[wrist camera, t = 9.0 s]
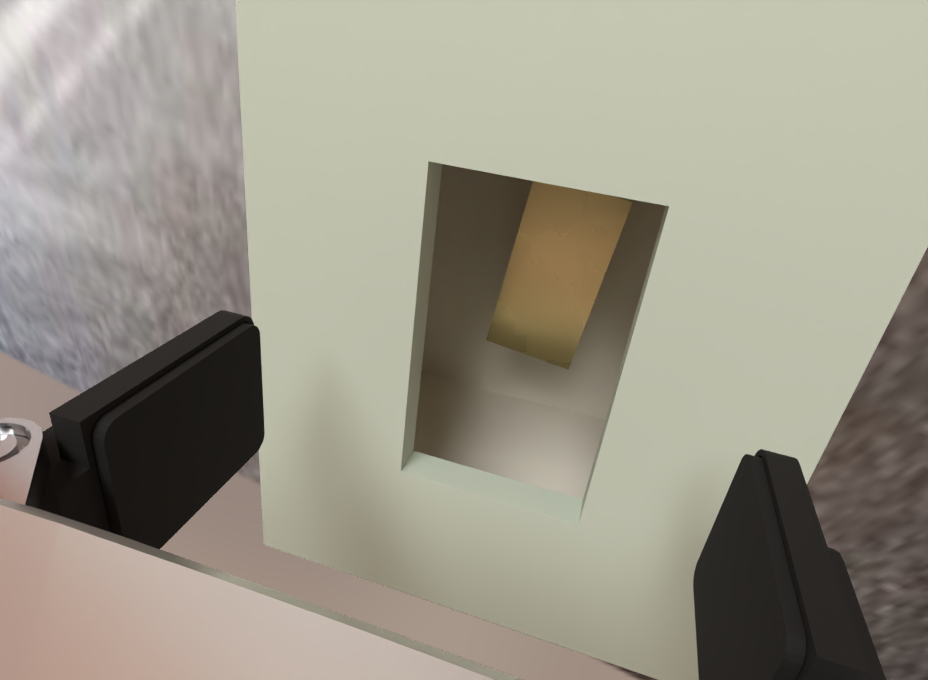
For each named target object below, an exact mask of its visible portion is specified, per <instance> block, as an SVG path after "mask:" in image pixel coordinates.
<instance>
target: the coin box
mask: <svg viewBox="0 0 928 680" xmlns="http://www.w3.org/2000/svg"><path fill="white" fill-rule="evenodd" d="M235 7H236V26H237V45H238V64H239V83H240V102H241V121H242V140H243V159H244V177H245V196H246V215H247V234H248V253H249V272H250V291H251V310H252V320H253V322H254V326H257V327H258V329H259V331H260V343H261V365H262V386H263V408H264V430H265V434H264V440H263V443H262V445H261V447H260V449H259V461H260V480H261V498H262V517H263V537H264V545H266V546H269V547H272V548H275V549H278V550H281V551H284V552H287V553H289V554H293V555H296V556H298V557H301V558H304V559H307V560H310V561H313V562H316V563H319V564H322V565H325V566H327V567H331V568H334V569H336V570H339V571H342V572H345V573H348V574H351V575H354V576H357V577H360V578H363V579H365V580H368V581H371V582H374V583H377V584H380V585H383V586H386V587H389V588H392V589H395V590H398V591H401V592H404V593H406V594H410V595H412V596H415V597H418V598H421V599H424V600H427V601H430V602H433V603H436V604H439V605H442V606H444V607H448V608H450V609H453V610H456V611H459V612H462V613H465V614H468V615H471V616H474V617H477V618H480V619H482V620H485V621H488V622H491V623H494V624H497V625H500V626H503V627H506V628H509V629H512V630H515V631H518V632H520V633H523V634H526V635H529V636H532V637H535V638H538V639H541V640H544V641H547V642H550V643H553V644H556V645H559V646H561V647H564V648H568V649H570V650H573V651H576V652H579V653H582V654H585V655H588V656H591V657H594V658H596V659H599V660H602V661H605V662H608V663H611V664H614V665H617V666H620V667H623V668H626V669H629V670H632V671H635V672H637V673H640V674H643V675H646V676H649V677H652V678H655V679H658V680H699V675H698V658H697V642H696V625H695V608H694V592H693V578H694V571H695V567H696V564H697V561H698V559H699V557H700V555H701V552H702V550H703V548H704V545H705V543H706V541H707V538H708V536H709V534H710V531H711V529H712V527H713V524H714V522H715V520H716V517H717V515H718V513H719V510H720V508H721V506H722V503H723V501H724V499H725V496H726V494H727V492H728V489H729V487H730V485H731V482H732V480H733V478H734V475H735V473H736V471H737V468H738V466H739V464H740V461H741V459H742V457H743V456H744V455H745V454H749V455H753V456H755V454H756V453H757V451H758V450H760V449H763V450H767V451H771V452H775V453H779V454H782V455H786V456H790V457H794V458H796V459H798V461H799V463H800V466H801V469H802V472H803V475H804V478H805V481H806V484H807V483H808V481H809V479H810V477H811V475H812V473H813V471H814V469H815V467H816V465H817V463H818V461H819V459H820V458H821V456H822V454H823V452H824V450H825V448H826V446H827V444H828V442H829V440H830V438H831V436H832V434H833V432H834V430H835V428H836V426H837V424H838V422H839V420H840V418H841V416H842V414H843V412H844V410H845V408H846V406H847V404H848V402H849V400H850V398H851V396H852V395H853V393H854V391H855V389H856V387H857V385H858V383H859V381H860V379H861V377H862V375H863V373H864V371H865V369H866V367H867V365H868V363H869V361H870V359H871V357H872V355H873V353H874V351H875V349H876V347H877V345H878V343H879V341H880V339H881V337H882V335H883V333H884V332H885V330H886V328H887V326H888V324H889V322H890V320H891V318H892V316H893V314H894V312H895V310H896V308H897V306H898V304H899V302H900V300H901V298H902V296H903V294H904V292H905V290H906V288H907V286H908V284H909V282H910V280H911V278H912V276H913V274H914V272H915V270H916V268H917V267H918V265H919V263H920V261H921V259H922V257H923V255H924V253H925V251H926V249H927V247H928V0H235ZM533 181H536V182H541V183H547V184H552V185H557V186H563V187H568V188H574V189H579V190H584V191H590V192H595V193H600V194H606V195H611V196H616V197H622V198H627V199H632V200H633V203H632V206H631V208H630V211H629V213H628V216H627V218H626V221H625V224H624V226H623V229H622V231H621V234H620V237H619V239H618V242H617V244H616V247H615V250H614V252H613V255H612V257H611V260H610V263H609V265H608V268H607V270H606V273H605V276H604V278H603V281H602V283H601V286H600V288H599V291H598V294H597V296H596V299H595V301H594V304H593V307H592V309H591V312H590V314H589V317H588V320H587V322H586V325H585V327H584V330H583V333H582V335H581V338H580V340H579V343H578V346H577V348H576V351H575V353H574V356H573V358H572V361H571V364H570V366H569V369H565V368H562V367H559V366H557V365H554V364H551V363H548V362H545V361H543V360H540V359H537V358H534V357H531V356H529V355H526V354H523V353H520V352H518V351H515V350H512V349H509V348H506V347H504V346H501V345H498V344H495V343H493V342H490V341H487V340H486V339H487V335H488V332H489V328H490V325H491V322H492V318H493V315H494V311H495V308H496V305H497V301H498V298H499V294H500V291H501V288H502V284H503V281H504V277H505V274H506V271H507V267H508V264H509V261H510V257H511V254H512V250H513V247H514V244H515V240H516V237H517V233H518V230H519V227H520V223H521V220H522V216H523V213H524V210H525V206H526V203H527V200H528V196H529V193H530V189H531V186H532V183H533Z"/></svg>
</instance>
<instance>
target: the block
mask: <svg viewBox="0 0 928 680" xmlns="http://www.w3.org/2000/svg"><path fill="white" fill-rule="evenodd" d="M632 203H633V200H632V199H627V198H622V197H616V196H611V195H606V194H600V193H595V192H590V191H584V190H579V189H574V188H568V187H563V186H557V185H552V184H547V183H541V182H536V181H533V183H532V186H531V189H530V193H529V196H528V200H527V203H526V206H525V210H524V213H523V216H522V220H521V223H520V227H519V230H518V233H517V237H516V240H515V244H514V247H513V250H512V254H511V257H510V261H509V264H508V267H507V271H506V274H505V277H504V281H503V284H502V288H501V291H500V294H499V298H498V301H497V305H496V308H495V311H494V315H493V318H492V322H491V325H490V328H489V332H488V335H487V339H486V340H487V341H490V342H493V343H495V344H498V345H501V346H504V347H506V348H509V349H512V350H515V351H518V352H520V353H523V354H526V355H529V356H531V357H534V358H537V359H540V360H543V361H545V362H548V363H551V364H554V365H557V366H559V367H562V368H565V369H569V366H570V364H571V361H572V358H573V356H574V353H575V351H576V348H577V346H578V343H579V340H580V338H581V335H582V333H583V330H584V327H585V325H586V322H587V320H588V317H589V314H590V312H591V309H592V307H593V304H594V301H595V299H596V296H597V294H598V291H599V288H600V286H601V283H602V281H603V278H604V276H605V273H606V270H607V268H608V265H609V263H610V260H611V257H612V255H613V252H614V250H615V247H616V244H617V242H618V239H619V237H620V234H621V231H622V229H623V226H624V224H625V221H626V218H627V216H628V213H629V211H630V208H631V206H632Z"/></svg>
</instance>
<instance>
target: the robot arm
mask: <svg viewBox="0 0 928 680" xmlns="http://www.w3.org/2000/svg"><path fill="white" fill-rule="evenodd" d="M49 414H50V418H51V422H52V427H50V428H49V429H47V430H46V431H44V432H43V431H42V429H41V428H40V427H39V425H38V424H37V423H34V422H32V421H30V420H27V419H21V418H14V417H13V418H0V680H523V679H520V678H517V677H515V676H512V675H509V674H506V673H504V672H501V671H498V670H495V669H492V668H490V667H487V666H484V665H482V664H479V663H476V662H473V661H471V660H468V659H465V658H462V657H460V656H456V655H454V654H451V653H449V652H446V651H443V650H440V649H437V648H434V647H432V646H429V645H427V644H424V643H421V642H418V641H416V640H413V639H410V638H407V637H404V636H402V635H399V634H396V633H393V632H391V631H388V630H385V629H382V628H379V627H376V626H374V625H371V624H368V623H365V622H363V621H360V620H357V619H354V618H352V617H349V616H346V615H343V614H340V613H338V612H335V611H332V610H329V609H326V608H324V607H321V606H318V605H315V604H312V603H310V602H307V601H304V600H301V599H298V598H296V597H293V596H290V595H287V594H284V593H282V592H279V591H276V590H273V589H270V588H268V587H265V586H262V585H259V584H256V583H254V582H250V581H248V580H245V579H242V578H239V577H237V576H234V575H231V574H228V573H225V572H222V571H219V570H217V569H214V568H211V567H208V566H205V565H202V564H200V563H197V562H194V561H191V560H188V559H185V558H182V557H180V556H177V555H174V554H171V553H168V552H165V551H162V550H160V548H161V547H162V546H163V545H164V544H165V543H166V542H167V541H168V540H169V539H170V538H171V537H172V536H173V535H174V534H175V533H176V532H177V531H178V530H179V529H180V528H181V527H182V526H183V525H184V524H185V523H186V522H187V521H188V520H189V519H190V518H191V517H192V516H193V515H194V514H195V513H196V512H197V511H198V510H199V509H200V508H201V507H202V506H203V505H204V504H205V503H206V502H207V501H208V500H209V499H210V498H211V497H212V496H213V495H214V494H215V493H216V492H217V491H218V490H219V489H220V488H221V487H222V486H223V485H224V484H225V483H226V482H227V481H228V480H229V479H230V478H231V477H232V476H233V475H234V474H235V473H236V472H237V471H238V470H239V469H240V468H241V467H242V466H243V465H244V464H245V463H246V462H247V461H248V460H249V459H250V458H251V457H252V456H253V455H254V454H255V453H256V452H257V451H258V450H259V449H260V447H261V445H262V443H263V440H264V434H265V430H264V408H263V386H262V365H261V343H260V331H259V329H258V327H257V326H254V322H253V320H252V319H251V318H250V317H248V316H244V315H240V314H236V313H232V312H228V311H223V310H222V311H219V312H217V313H215V314H214V315H212V316H210V317H209V318H207V319H205V320H204V321H202V322H200V323H198V324H197V325H195V326H193V327H192V328H190V329H188V330H187V331H185V332H183V333H182V334H180V335H178V336H177V337H175V338H173V339H172V340H170V341H168V342H167V343H165V344H163V345H162V346H160V347H158V348H157V349H155V350H153V351H152V352H150V353H148V354H147V355H145V356H143V357H142V358H140V359H138V360H137V361H135V362H133V363H132V364H130V365H128V366H127V367H125V368H123V369H122V370H120V371H118V372H117V373H115V374H113V375H111V376H110V377H108V378H106V379H105V380H103V381H101V382H100V383H98V384H96V385H95V386H93V387H91V388H90V389H88V390H86V391H85V392H83V393H81V394H80V395H78V396H76V397H75V398H73V399H71V400H70V401H68V402H66V403H65V404H63V405H61V406H60V407H58V408H57V409H55V410H53V411H51V412H50V413H49ZM693 592H694V608H695V625H696V642H697V658H698V675H699V680H886V678H885V676H884V673H883V670H882V667H881V664H880V662H879V659H878V656H877V653H876V650H875V647H874V645H873V642H872V639H871V636H870V633H869V631H868V628H867V625H866V622H865V619H864V617H863V614H862V611H861V608H860V605H859V603H858V600H857V597H856V594H855V591H854V589H853V586H852V583H851V580H850V577H849V574H848V572H847V569H846V566H845V563H844V561H843V559H842V557H841V555H840V553H839V552H837V551H836V550H835V549H832V548H828V547H827V544H826V541H825V538H824V535H823V532H822V529H821V526H820V523H819V520H818V517H817V514H816V511H815V508H814V505H813V502H812V499H811V496H810V493H809V490H808V487H807V484H806V481H805V478H804V475H803V472H802V469H801V466H800V463H799V461H798V459H796V458H794V457H790V456H786V455H782V454H779V453H775V452H771V451H767V450H763V449H760V450H758V451H757V453H756V454H755V456H753V455H749V454H745V455H744V456H743V457H742V459H741V461H740V464H739V466H738V468H737V471H736V473H735V475H734V478H733V480H732V482H731V485H730V487H729V489H728V492H727V494H726V496H725V499H724V501H723V503H722V506H721V508H720V510H719V513H718V515H717V517H716V520H715V522H714V524H713V527H712V529H711V531H710V534H709V536H708V538H707V541H706V543H705V545H704V548H703V550H702V552H701V555H700V557H699V559H698V561H697V564H696V567H695V571H694V578H693Z"/></svg>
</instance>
